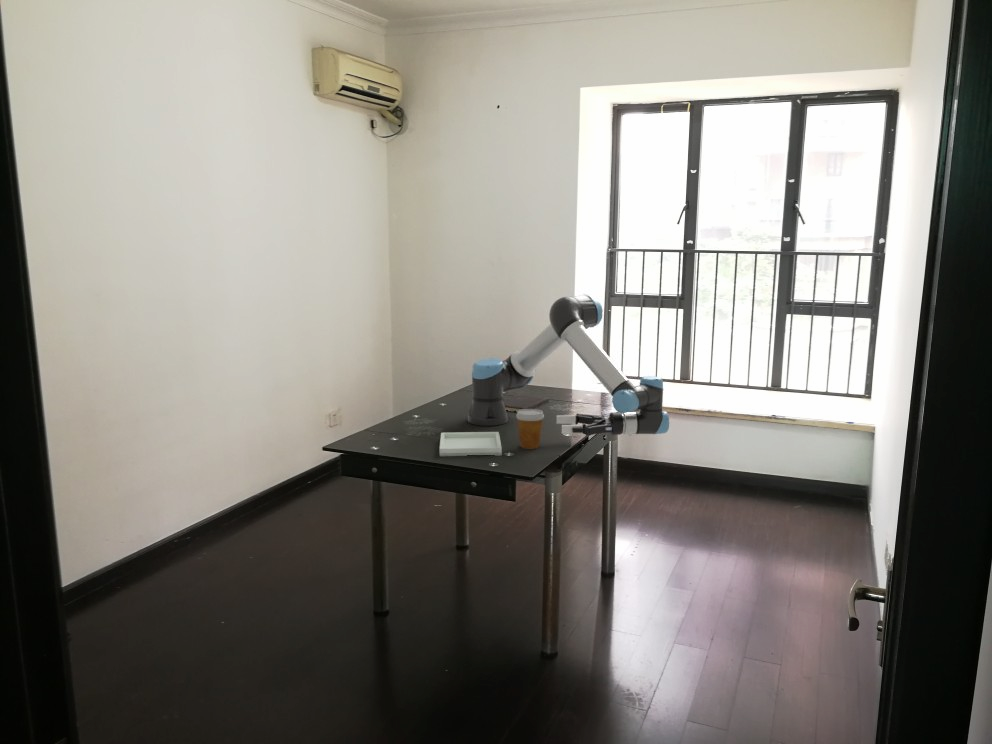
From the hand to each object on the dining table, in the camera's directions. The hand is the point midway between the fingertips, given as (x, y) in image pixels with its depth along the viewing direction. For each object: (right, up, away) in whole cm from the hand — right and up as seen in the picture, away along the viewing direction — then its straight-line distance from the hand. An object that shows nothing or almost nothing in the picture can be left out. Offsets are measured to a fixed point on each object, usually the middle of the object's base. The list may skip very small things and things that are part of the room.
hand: (559, 424), depth 252 cm
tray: (-30, -8, 0) cm, 31 cm away
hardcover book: (-11, +3, +62) cm, 63 cm away
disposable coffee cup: (-10, -8, +1) cm, 12 cm away
